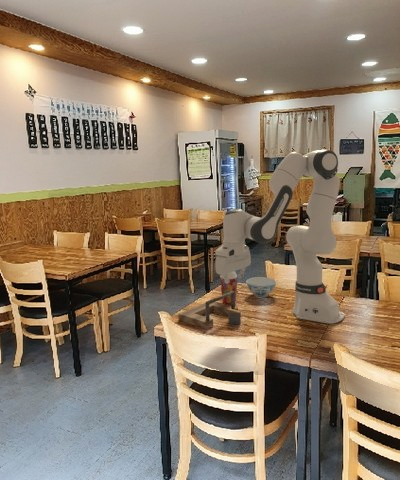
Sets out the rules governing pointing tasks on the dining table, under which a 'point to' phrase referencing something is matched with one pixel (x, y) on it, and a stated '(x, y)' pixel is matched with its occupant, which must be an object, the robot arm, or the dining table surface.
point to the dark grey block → (234, 317)
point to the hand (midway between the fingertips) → (234, 280)
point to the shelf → (200, 313)
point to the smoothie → (229, 287)
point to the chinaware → (261, 286)
